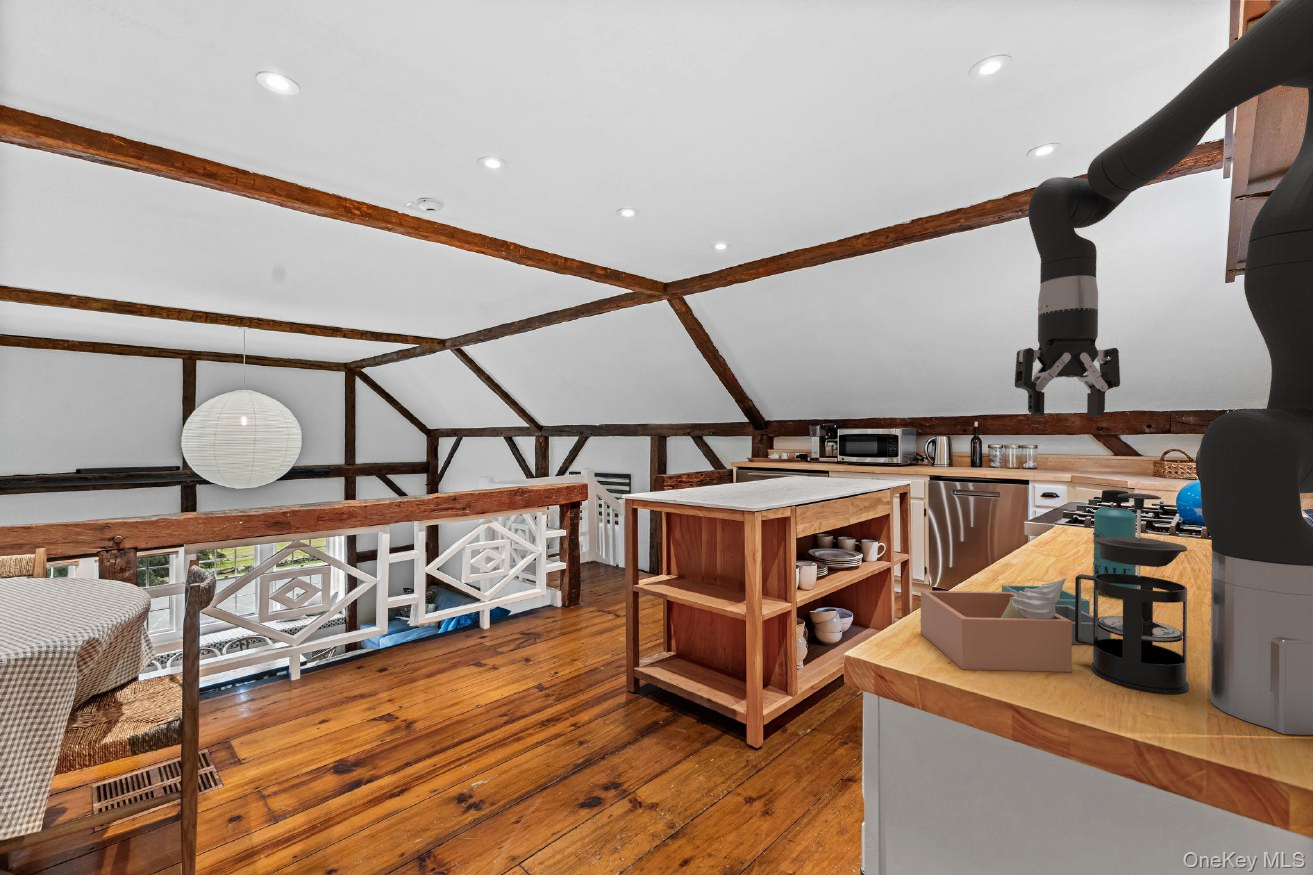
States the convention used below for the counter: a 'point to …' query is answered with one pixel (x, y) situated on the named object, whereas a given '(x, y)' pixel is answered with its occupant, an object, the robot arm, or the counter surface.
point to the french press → (1137, 615)
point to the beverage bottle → (1113, 533)
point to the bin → (994, 633)
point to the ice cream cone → (1035, 602)
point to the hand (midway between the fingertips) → (1066, 416)
